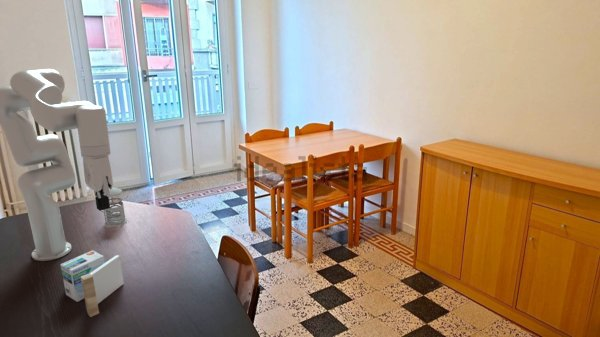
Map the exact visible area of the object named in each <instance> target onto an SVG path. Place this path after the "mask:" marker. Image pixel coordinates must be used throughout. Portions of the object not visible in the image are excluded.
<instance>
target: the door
mask: <svg viewBox="0 0 600 337" xmlns="http://www.w3.org/2000/svg"><path fill="white" fill-rule="evenodd" d="M90 274H91V275H92V276H93V281H94V286H95V292H96V298H97V303H98V305H99V304H100V303H101V302H102V301H103V300H105V299H106V298H107V297H109V296H111V294H113V293H114V292H115V291H116V290H117V289H119V288H120V287H122V286H123V285H124V284H125V280H124V274H123V268H122V261H121V256H120V255H118V254H116V255H114V256H113V257H111V258H110V259H108V260H107V261H105V263H104V264H103V265H101V266H100V267H98V268H97V269H95V270H94V271H92V272H91V273H90Z"/></svg>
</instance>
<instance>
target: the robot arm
mask: <svg viewBox="0 0 600 337" xmlns="http://www.w3.org/2000/svg"><path fill="white" fill-rule="evenodd" d="M9 84H10V85H3V86H0V127H1V129H2V130H3V133H4V136H5V138H6V141H7V144H8V146H9V149H10V152H11V155H12V157H13V160H14V161H15V163H16V164H17V165H18V166H19V167H22V168H23V167H24V168H25V167H26V168H27V167H33V166H37V165H42V164H45V163H51V164H52V165H48V166H43V167H39V168H35V169H31V170H28V171H25V172H24V173H22V174H20V176H19V177H18V179H17V186H18V189H19V190H20V191H19V192H20V193H21V196H22V198H23V201H24V203H25V207H26V211H27V215H28V216H27V217H28V220H29V224H30V228H31V233H32V238H33V242H34V243H33V244H34V247H35V249H34V250H33V251H32V252H31V257H32V259H33V260H34V261H38V262H45V261H53V260H57V259H59V258H62V257H64V256H66V255H67V254H69V253H70V252H71V251H72V250H73V247H72V244H71V243H70V242H68V241H67V240H66V236H65V231H64V226H63V221H62V215H61V210H60V206H59V203H58V202H57V201H56V199H53V198H52V197H50V195H53V194H54V193H58V192H61V191H64V190H68V189H70V188H72V187H73V186H75V184H76V172H75V170H74V168H73V164H72V161H71V158H70V156H69V153H68V150H67V148H66V145H65V143H64V142H63V139H62V138H61V137H60V136H59V135H57V134H55V133H61V132H65V131H71V130H75V129H77V134H78V141H79V149H80V155H81V157H82V159H83V160H82V163H83V164H82V166H83V176H84V182H85V184H86V185H87V186H88V187H89V188H90V189H91V190H92V191H93V192H94V199H95V205H96V209H97V210H98V211H99V212H101V211H104V210H105V209H109V208H110V207H111V205H110V204H109V199H110V198H109V197H110V196H109V195H110V192H109V188H110V189H111V188H114V182H113V181H114V180H113V174H112V167H111V162H110V158H109V156H110V155H111V154H112V153H111V144H110V137H109V131H108V129H109V128H108V121H107V120H108V119H107V112H106V110H105V108H104V107H103V106H101V105H97V104H93V103H92V102H90V101H88V100H77V101H70V102H63V103H62V101H63V92H64V90H65V89H66V88H65V86H66V85H65V80H64V77H63V75H62V74H61V73H60V72H58V71H57V70H55V69H53V68H41V69H27V70H26V69H25V70H21V71H17V72H16V73H14V74H12V76H11V78H10V81H9ZM22 111H23V112H25V111H30V113H31V116H32V118H33V120H34V121H35V123H37V124H38V125H39V126H41V127H42V128H44V129H45V130H47V131H50V132H52V133H48V134H43V135H38V134H36V131H35V129H34V126H33V123H32V121H31V120H30V119H28V118H27V117H26V116H24V115H23V114H21V113H20V112H22ZM53 132H54V134H53ZM105 211H106V210H105Z"/></svg>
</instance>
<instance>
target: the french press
mask: <svg viewBox="0 0 600 337" xmlns="http://www.w3.org/2000/svg"><path fill="white" fill-rule="evenodd" d="M109 192H110V195H109V196H108V197H111V198H109V204H110V208H109V209H105V210H101V211H100V212H101V213H103V214H104V220H105V221H104V222H103V224H102V225H103V227H105V228H110V229H112V228H120V227H122V226H125V225H126V224H128V222H129V219H128V218H127V217H126V213H125V207H124V202H123V200H122V198H119V197H114V196H118V195H120V194H121V193H122V192H123V190H122V189H121V188H117V187H112V188H111V189H110V188H109ZM127 219H128V220H127ZM127 221H128V222H127ZM124 224H125V225H124Z"/></svg>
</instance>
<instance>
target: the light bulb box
mask: <svg viewBox="0 0 600 337" xmlns="http://www.w3.org/2000/svg"><path fill="white" fill-rule="evenodd" d="M104 263H106V258H105V256H104V255H102V254H100V253H99V252H97V251H95V250H93V249H92V250H90V251H88V252H85V253H83V254H80V255H79V256H76V257H74V258H72V259H70V260H67V261H65V262H63V263H60V270H61V274H62V275H61V276H62V280H63V284H64V286H63V287H64V290H65V295H66V296H67V297H69V298H71V300H73V301H75V302H76V303H77V302H80V301H82V300H85V298H84V292H83V287H82V281H81V276H84V275H87V274H89V273H91V272H92V271H94V270H95V269H97V268H98V267H100V266H101V265H103V264H104Z"/></svg>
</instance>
